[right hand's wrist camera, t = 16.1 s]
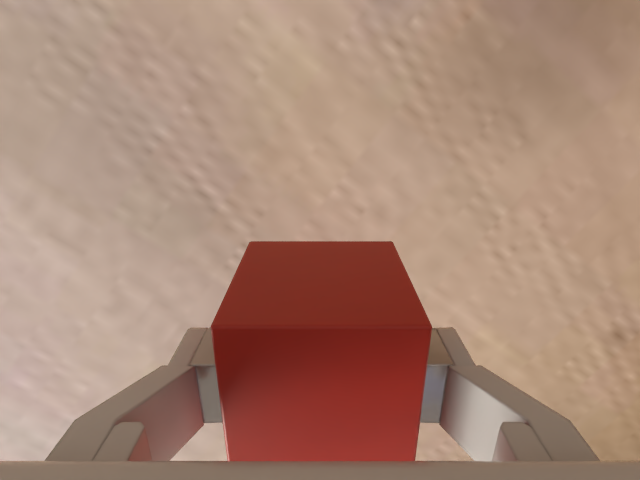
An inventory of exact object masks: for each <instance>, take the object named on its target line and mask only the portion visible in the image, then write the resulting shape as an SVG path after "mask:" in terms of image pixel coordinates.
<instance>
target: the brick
mask: <svg viewBox="0 0 640 480" xmlns="http://www.w3.org/2000/svg"><path fill="white" fill-rule="evenodd" d="M431 333H432V326H431V324H430V321H429V319H428V317H427V315H426V313H425V311H424V308H423V306H422V304H421V302H420V300H419V298H418V296H417V293H416V291H415V289H414V287H413V285H412V283H411V281H410V278H409V276H408V274H407V272H406V270H405V268H404V265H403V263H402V261H401V259H400V257H399V255H398V253H397V250H396V248H395V246H394V244H393V242H249V245H248V247H247V249H246V251H245V253H244V255H243V258H242V260H241V262H240V264H239V266H238V269H237V271H236V273H235V275H234V277H233V279H232V282H231V284H230V286H229V288H228V290H227V292H226V295H225V297H224V299H223V301H222V303H221V305H220V308H219V310H218V312H217V314H216V316H215V318H214V321H213V323H212V325H211V335H212V343H213V351H214V358H215V366H216V374H217V382H218V390H219V397H220V405H221V413H222V421H223V428H224V436H225V444H226V452H227V460H228V461H415V456H416V448H417V441H418V433H419V425H420V418H421V410H422V402H423V395H424V387H425V379H426V372H427V364H428V356H429V348H430V341H431Z"/></svg>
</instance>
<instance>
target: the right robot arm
mask: <svg viewBox="0 0 640 480" xmlns="http://www.w3.org/2000/svg"><path fill="white" fill-rule="evenodd" d="M220 422H223V421H222V413H221V405H220V397H219V390H218V382H217V374H216V366H215V358H214V351H213V343H212V335H211V328H190V329H188V330H187V332H186V333H185V335H184V337H183V339H182V341H181V342H180V344H179V346H178V348H177V350H176V351H175V353H174V355H173V357H172V359H171V360H170V362H169V364H168V366H161V367H159V368H158V369H156V370H154V371H153V372H151V373H150V374H148V375H146V376H145V377H143V378H142V379H140V380H138V381H137V382H135V383H134V384H132V385H130V386H129V387H127V388H126V389H124V390H122V391H121V392H119V393H118V394H116V395H114V396H113V397H111V398H110V399H108V400H106V401H105V402H103V403H102V404H100V405H98V406H97V407H95V408H93V409H92V410H90V411H89V412H87V413H85V414H84V415H82V416H81V417H79V418H77V419H76V420H75V421H74V422H73V423H72V425H71V426H70V427H69V429H68V430H67V431H66V433H65V434H64V435H63V437H62V438H61V439H60V441H59V442H58V443H57V445H56V446H55V448H54V449H53V450H52V452H51V453H50V454H49V456H48V457H47V458H46V460H45V461H0V480H640V461H600V460H599V459H598V457H597V456H596V455H595V453H594V452H593V451H592V449H591V448H590V447H589V445H588V444H587V443H586V441H585V440H584V439H583V437H582V436H581V435H580V433H579V432H578V431H577V429H576V428H575V427H574V425H573V424H572V423H571V421H570V420H568V419H567V418H565V417H563V416H562V415H560V414H558V413H557V412H555V411H554V410H552V409H550V408H549V407H547V406H546V405H544V404H542V403H541V402H539V401H537V400H536V399H534V398H533V397H531V396H529V395H528V394H526V393H525V392H523V391H521V390H520V389H518V388H516V387H515V386H513V385H512V384H510V383H508V382H507V381H505V380H504V379H502V378H500V377H499V376H497V375H496V374H494V373H492V372H491V371H489V370H487V369H486V368H484V367H483V366H476V365H475V363H474V362H473V360H472V358H471V356H470V355H469V353H468V351H467V349H466V348H465V346H464V344H463V342H462V341H461V339H460V337H459V335H458V334H457V332H456V330H455V329H454V328H452V327H448V328H432V333H431V341H430V348H429V356H428V364H427V372H426V379H425V387H424V395H423V402H422V410H421V418H420V422H423V423H440V424H439V425H440V426H441V427H442V428H443V429H444V430H445V431H446V432H447V433H448V434H449V435H450V436H451V437H452V438H453V439H454V440H455V441H456V442H457V443H458V444H459V445H460V446H461V447H462V448H463V449H464V450H465V451H466V452H467V453H468V454H469V456H470V457H471V458H472V459H473V460H474V461H169V460H170V459H171V458H172V457H173V456H174V455H175V454H176V453H177V452H178V451H179V450H180V449H181V448H182V447H183V446H184V445H185V444H186V443H187V442H188V441H189V440H190V439H191V438H192V436H193V435H194V434H195V433H196V432H197V431H198V430H199V429H200V428H201V427H202V426H203V425H204V424H203V423H220Z"/></svg>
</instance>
